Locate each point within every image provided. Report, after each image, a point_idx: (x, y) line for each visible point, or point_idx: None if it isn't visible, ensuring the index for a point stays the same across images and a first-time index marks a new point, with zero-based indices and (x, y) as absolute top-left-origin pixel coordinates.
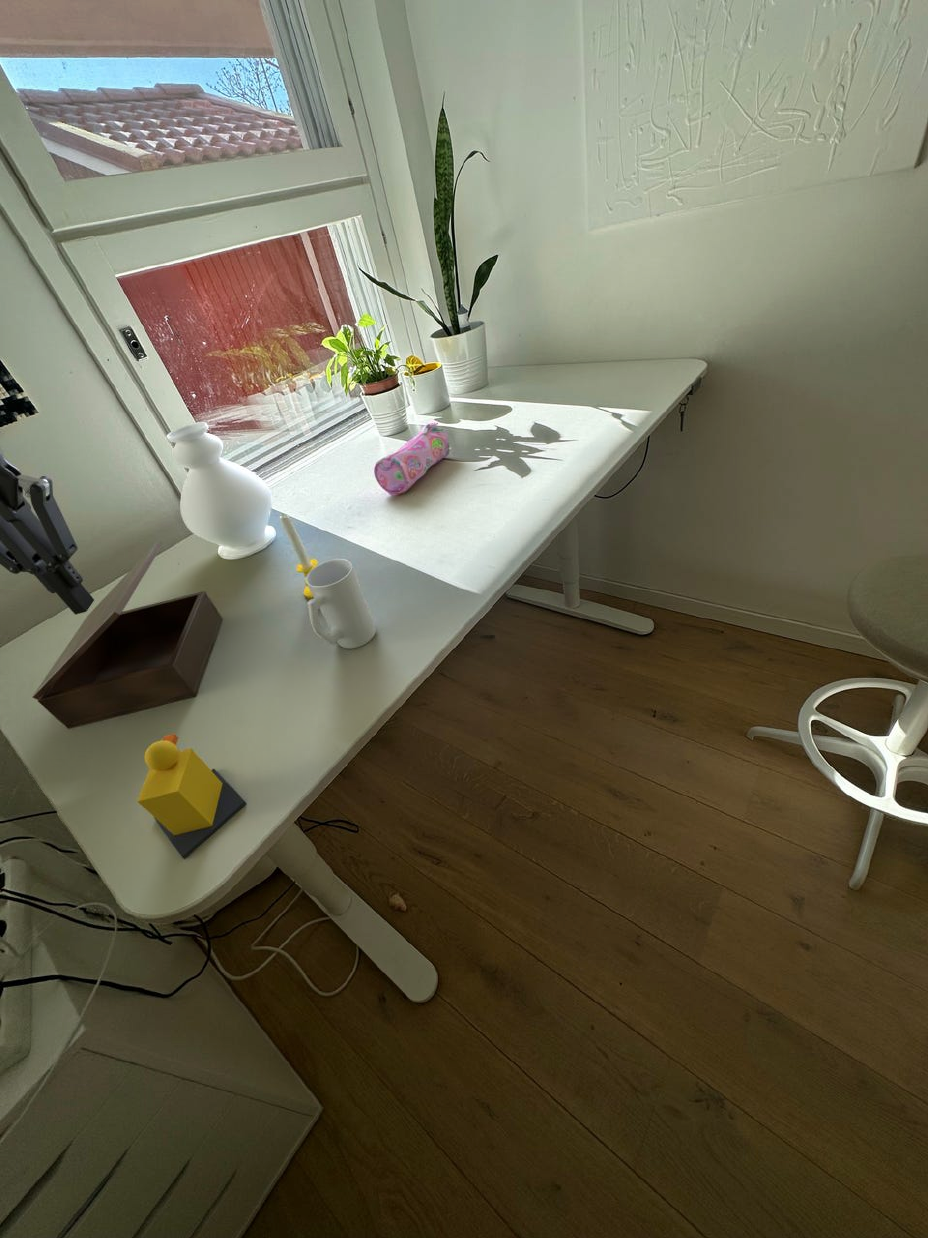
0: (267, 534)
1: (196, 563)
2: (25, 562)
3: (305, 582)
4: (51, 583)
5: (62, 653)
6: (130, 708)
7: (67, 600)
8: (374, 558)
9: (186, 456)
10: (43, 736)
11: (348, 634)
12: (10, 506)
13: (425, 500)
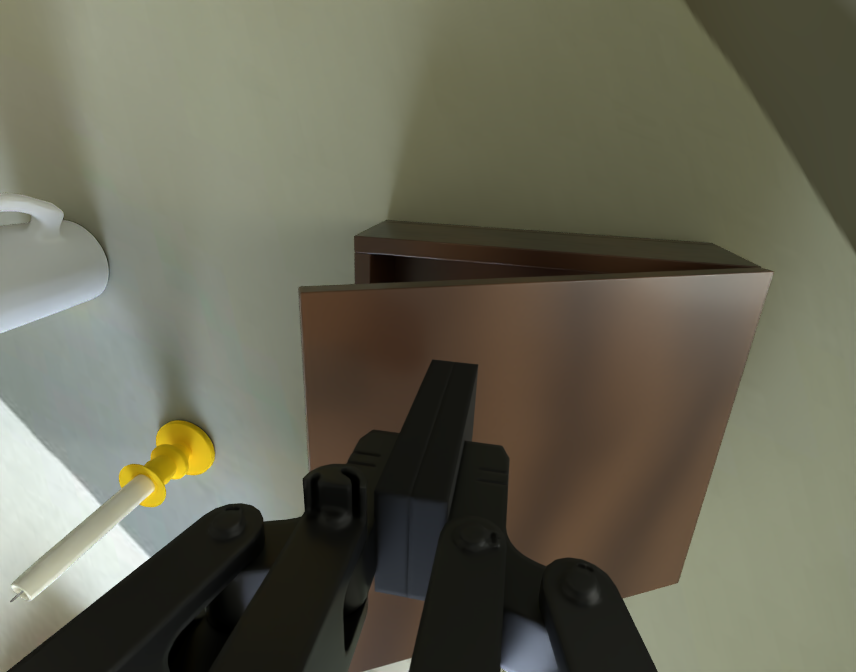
0: None
1: None
2: (462, 591)
3: (181, 460)
4: (441, 453)
5: (712, 438)
6: (536, 232)
7: (451, 394)
8: (96, 484)
9: None
10: (782, 244)
11: (28, 223)
12: None
13: (38, 603)
